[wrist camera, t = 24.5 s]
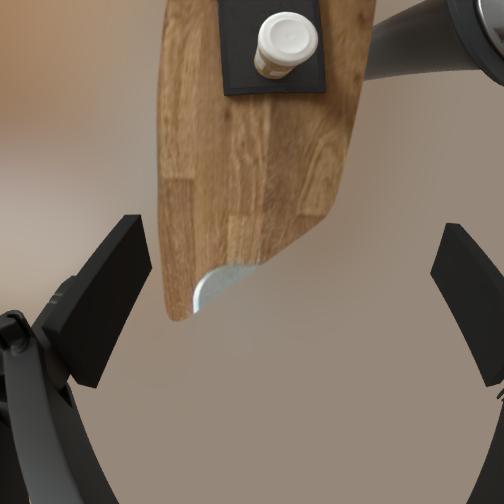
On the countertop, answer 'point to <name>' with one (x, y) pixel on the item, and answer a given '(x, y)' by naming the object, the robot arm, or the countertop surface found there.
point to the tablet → (246, 41)
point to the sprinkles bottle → (284, 44)
